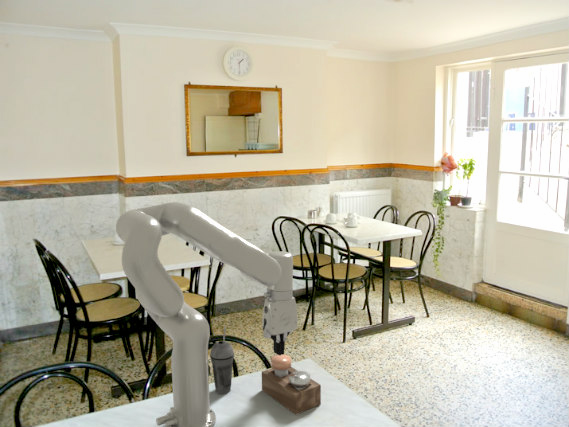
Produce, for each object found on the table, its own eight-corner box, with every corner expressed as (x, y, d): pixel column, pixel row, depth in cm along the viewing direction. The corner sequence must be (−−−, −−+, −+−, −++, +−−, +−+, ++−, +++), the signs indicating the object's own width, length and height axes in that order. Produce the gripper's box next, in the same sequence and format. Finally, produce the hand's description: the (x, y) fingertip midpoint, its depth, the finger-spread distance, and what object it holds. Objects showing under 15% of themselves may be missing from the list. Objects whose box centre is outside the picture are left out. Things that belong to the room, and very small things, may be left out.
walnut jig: (295, 414, 137) (295, 394, 136) (261, 390, 150) (261, 371, 150) (320, 404, 142) (320, 384, 141) (285, 381, 156) (285, 363, 155)
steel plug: (297, 408, 138) (297, 383, 137) (285, 399, 143) (284, 374, 142) (314, 401, 142) (314, 376, 141) (301, 392, 147) (301, 369, 146)
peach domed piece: (279, 389, 145) (278, 365, 144) (267, 381, 150) (267, 358, 149) (295, 383, 149) (295, 359, 148) (283, 375, 154) (283, 352, 152)
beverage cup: (208, 387, 152) (205, 325, 149) (230, 382, 155) (228, 321, 152) (215, 398, 146) (212, 334, 143) (238, 393, 149) (236, 330, 146)
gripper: (265, 301, 138) (265, 364, 140) (307, 292, 146) (306, 351, 149) (251, 294, 144) (251, 354, 146) (292, 286, 152) (291, 343, 155)
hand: (278, 353), depth 148 cm, fingers closed
